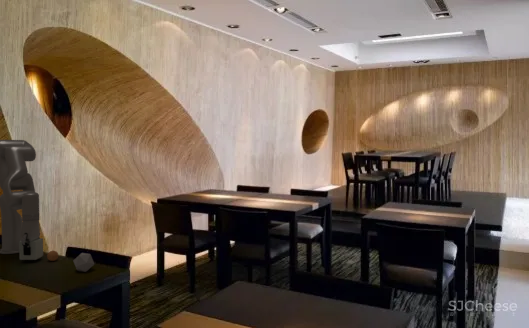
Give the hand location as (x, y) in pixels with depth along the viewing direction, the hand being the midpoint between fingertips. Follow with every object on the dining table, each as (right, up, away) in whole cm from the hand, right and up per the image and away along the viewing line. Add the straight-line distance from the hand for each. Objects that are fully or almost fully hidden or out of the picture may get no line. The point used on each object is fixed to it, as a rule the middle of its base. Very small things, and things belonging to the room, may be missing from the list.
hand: (31, 252), depth 217 cm
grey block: (0, -2, 0) cm, 2 cm away
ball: (+10, -2, 0) cm, 10 cm away
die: (+32, -6, -15) cm, 35 cm away
